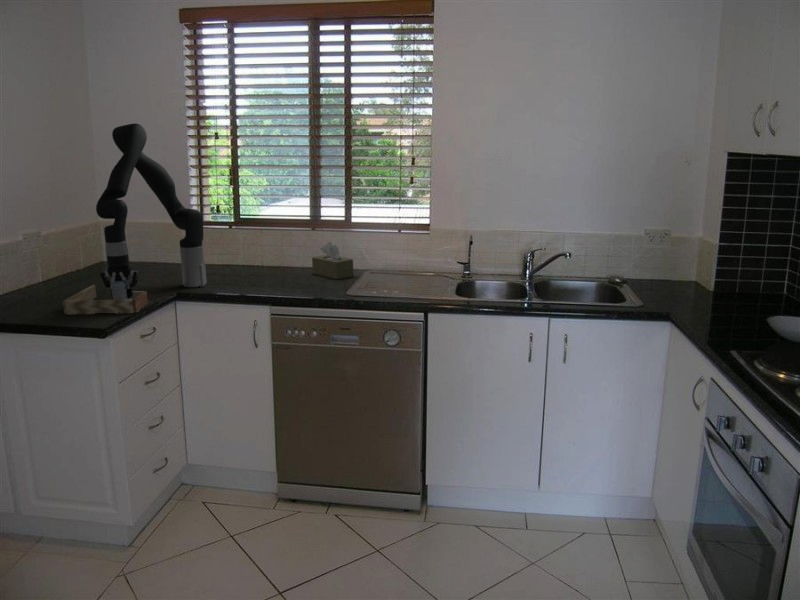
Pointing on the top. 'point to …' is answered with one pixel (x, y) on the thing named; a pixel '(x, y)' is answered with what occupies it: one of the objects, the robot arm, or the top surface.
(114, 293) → the medicine box
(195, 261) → the robot arm
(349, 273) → the tissue box
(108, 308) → the channel
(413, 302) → the top surface
